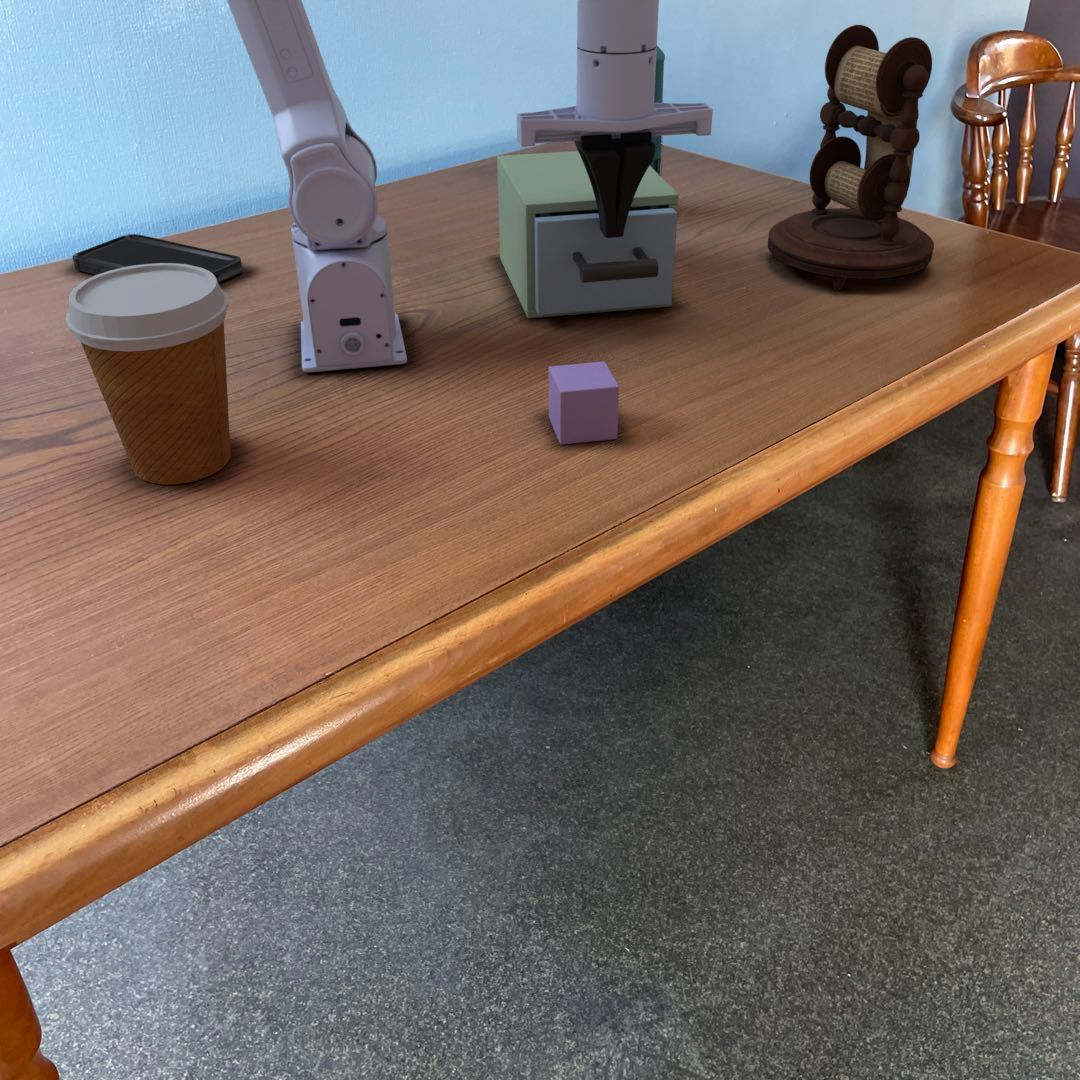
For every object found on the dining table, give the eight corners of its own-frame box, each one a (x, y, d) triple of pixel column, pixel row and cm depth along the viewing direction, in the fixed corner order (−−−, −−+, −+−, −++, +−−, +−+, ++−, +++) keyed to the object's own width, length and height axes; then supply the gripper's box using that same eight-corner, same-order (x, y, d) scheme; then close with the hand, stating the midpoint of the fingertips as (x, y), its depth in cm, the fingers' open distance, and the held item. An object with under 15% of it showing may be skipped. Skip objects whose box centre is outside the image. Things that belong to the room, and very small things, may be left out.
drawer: (687, 326, 88) (694, 231, 83) (549, 338, 86) (548, 241, 82) (630, 250, 102) (633, 166, 98) (510, 259, 101) (508, 173, 96)
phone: (130, 232, 107) (246, 257, 101) (133, 244, 107) (248, 269, 101) (65, 257, 101) (183, 285, 95) (68, 268, 102) (186, 297, 96)
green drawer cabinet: (671, 306, 93) (678, 194, 88) (527, 318, 92) (525, 204, 86) (628, 249, 105) (632, 147, 100) (500, 259, 103) (496, 155, 98)
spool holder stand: (963, 277, 98) (1016, 37, 87) (832, 305, 93) (870, 54, 82) (858, 229, 109) (892, 11, 98) (734, 252, 104) (756, 24, 93)
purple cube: (617, 439, 74) (619, 386, 72) (560, 445, 74) (560, 391, 71) (603, 412, 77) (605, 360, 75) (548, 417, 77) (548, 366, 75)
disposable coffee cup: (81, 461, 72) (32, 288, 66) (208, 413, 78) (175, 249, 71) (151, 516, 67) (106, 333, 60) (283, 460, 72) (255, 287, 65)
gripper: (696, 32, 82) (685, 211, 90) (507, 41, 80) (512, 223, 88) (727, 49, 77) (712, 239, 84) (524, 60, 74) (528, 253, 82)
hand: (611, 233), depth 86 cm, fingers closed
